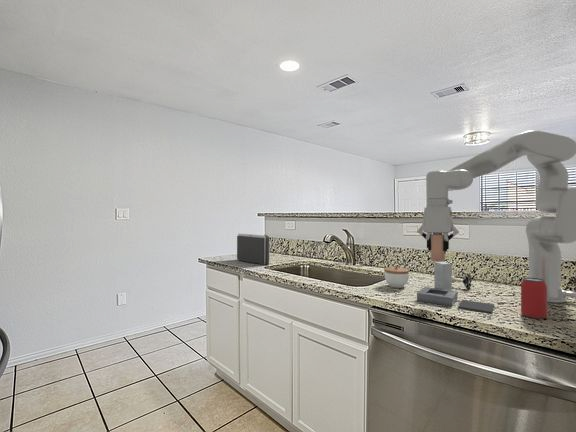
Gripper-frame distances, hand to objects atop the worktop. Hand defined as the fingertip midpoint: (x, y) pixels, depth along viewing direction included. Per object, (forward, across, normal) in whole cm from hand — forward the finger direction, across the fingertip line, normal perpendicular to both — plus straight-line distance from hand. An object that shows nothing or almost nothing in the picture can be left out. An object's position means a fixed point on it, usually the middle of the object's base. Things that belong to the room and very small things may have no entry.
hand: (437, 250), depth 119 cm
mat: (+19, -13, +2) cm, 23 cm away
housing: (+19, 0, 0) cm, 19 cm away
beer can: (+19, -29, +2) cm, 35 cm away
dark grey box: (+19, +120, -32) cm, 126 cm away
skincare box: (+19, +1, -16) cm, 25 cm away
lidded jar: (+19, +20, -13) cm, 30 cm away
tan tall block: (+4, 0, 0) cm, 4 cm away
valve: (+20, -2, -26) cm, 33 cm away
